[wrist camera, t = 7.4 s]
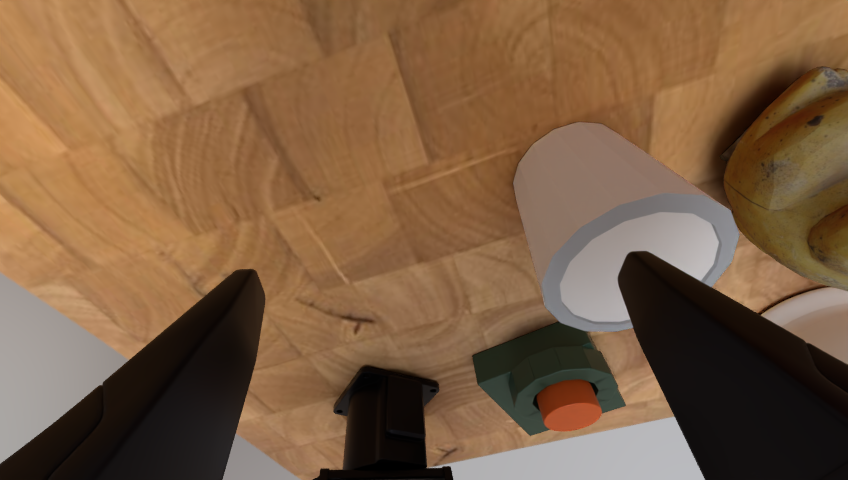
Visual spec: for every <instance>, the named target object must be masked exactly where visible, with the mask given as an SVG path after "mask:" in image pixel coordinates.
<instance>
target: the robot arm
mask: <svg viewBox="0 0 848 480" xmlns="http://www.w3.org/2000/svg"><path fill="white" fill-rule="evenodd" d="M618 286H619V289H620V291H621V294H622V297H623V300H624V303H625V306H626V309H627V311H628V314H629V317H630V320H631V323H632V326H633V328H634V331H635V334H636V336H637V339H638V341H639V343H640V345H641V348H642V350H643V352H644V354H645V356H646V358H647V360H648V362H649V364H650V366H651V368H652V370H653V373H654V375H655V377H656V379H657V381H658V383H659V385H660V387H661V389H662V391H663V393H664V395H665V397H666V400H667V402H668V404H669V406H670V408H671V410H672V412H673V414H674V416H675V418H676V420H677V422H678V424H679V426H680V429H681V431H682V433H683V435H684V437H685V439H686V441H687V443H688V445H689V447H690V449H691V451H692V453H693V456H694V458H695V460H696V462H697V464H698V466H699V468H700V470H701V472H702V474H703V476H704V478H705V480H848V364H846V363H844V362H842V361H840V360H839V359H837V358H835V357H833V356H831V355H830V354H828V353H826V352H824V351H823V350H821V349H819V348H817V347H816V346H814V345H812V344H810V343H806V342H805V340H803V339H801V338H800V337H798V336H796V335H794V334H793V333H791V332H789V331H787V330H786V329H784V328H782V327H780V326H779V325H777V324H775V323H773V322H772V321H770V320H768V319H766V318H764V317H763V316H761V315H759V314H757V313H756V312H754V311H752V310H750V309H749V308H747V307H745V306H743V305H742V304H740V303H738V302H736V301H735V300H733V299H731V298H729V297H728V296H726V295H724V294H722V293H720V292H719V291H717V290H715V289H713V288H712V287H710V286H708V285H706V284H705V283H703V282H701V281H699V280H698V279H696V278H694V277H692V276H691V275H689V274H687V273H685V272H684V271H682V270H680V269H678V268H677V267H675V266H673V265H671V264H669V263H668V262H666V261H664V260H662V259H661V258H659V257H657V256H655V255H654V254H652V253H650V252H648V251H631V252H629V253H628V254H627V255H626V258H625V260H624V262H623V265H622V267H621V269H620V272H619V274H618ZM264 307H265V293H264V290H263V287H262V285H261V282H260V279H259V277H258V274H257V272H256V271H255V270H254V269H240V270H236V271H234V272H233V273H232V274H231V275H229V276H228V277H227V278H226V279H225V280H223V281H222V282H221V283H220V284H219V285H218V286H216V287H215V288H214V289H213V290H212V291H210V292H209V293H208V294H207V295H206V296H205V297H203V298H202V299H201V300H200V301H199V302H197V303H196V304H195V305H194V306H193V307H191V308H190V309H189V310H188V311H187V312H186V313H184V314H183V315H182V316H181V317H180V318H178V319H177V320H176V321H175V322H174V323H173V324H171V325H170V326H169V327H168V328H167V329H165V330H164V331H163V332H162V333H161V334H160V335H158V336H157V337H156V338H155V339H154V340H152V341H151V342H150V343H149V344H148V345H147V346H145V347H144V348H143V349H142V350H141V351H139V352H138V353H137V354H136V355H135V356H134V357H132V358H131V359H130V360H129V361H128V362H126V363H125V364H124V365H123V366H122V367H121V368H119V369H118V370H117V371H116V372H115V373H113V374H112V375H111V376H110V377H109V378H108V379H106V380H105V381H104V382H103V386H102V385H100V386H98V387H97V388H95V389H94V390H93V391H92V392H91V393H90V394H88V395H87V396H86V397H85V398H84V399H82V400H81V401H80V402H79V403H78V404H76V405H75V406H74V407H73V408H72V409H70V410H69V411H68V412H67V413H66V414H64V415H63V416H62V417H60V418H59V419H58V420H57V421H56V422H54V423H53V424H52V425H51V426H49V427H48V428H47V429H45V430H44V431H43V432H42V433H40V434H39V435H38V436H36V437H35V438H34V439H32V440H31V441H30V442H28V443H27V444H26V445H25V446H23V447H22V448H21V449H19V450H18V451H17V452H15V453H14V454H13V455H12V456H10V457H9V458H7V459H6V460H5V461H3V462H2V463H1V464H0V480H222V479H223V476H224V472H225V469H226V465H227V462H228V458H229V454H230V451H231V447H232V444H233V440H234V437H235V433H236V430H237V426H238V423H239V419H240V416H241V412H242V409H243V405H244V402H245V398H246V395H247V391H248V387H249V384H250V380H251V377H252V373H253V370H254V366H255V362H256V357H257V351H258V345H259V339H260V332H261V326H262V320H263V313H264ZM438 392H439V384H438V383H435V382H431V381H426V380H422V379H418V378H413V377H409V376H405V375H400V374H396V373H392V372H387V371H383V370H379V369H374V368H370V367H364V368H362V369H360V371H359V372H358V373H357V375H356V376H355V378H354V379H353V380H352V382H351V383H350V385H349V386H348V387H347V389H346V390H345V391H344V393H343V394H342V396H341V397H340V398H339V400H338V401H337V402H336V404H335V405H334V410H333V412H334V413H335V414H339V415H344V416H347V426H346V438H345V449H344V461H343V470H329V469H321V470H320V476H318V477H317V478H315V479H313V480H453V476H452V471H451V467H449V466H447V467H445V466H444V467H442V468H426V467H427V458H426V443H425V436H426V432H425V417H424V406H425V405H426V404H427V403H428V402H429V401H430V400H431V399H432V398H433V397H434V396H435V395H436V394H437V393H438Z"/></svg>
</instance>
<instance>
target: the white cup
mask: <svg viewBox="0 0 848 480" xmlns="http://www.w3.org/2000/svg"><path fill="white" fill-rule="evenodd" d="M513 185H514V191H515V196H516V201H517V205H518V209H519V213H520V216H521V220H522V224H523V227H524V231H525V235H526V238H527V242H528V246H529V249H530V253H531V257H532V261H533V264H534V268H535V272H536V275H537V279H538V283H539V286H540V290H541V294H542V298H543V301H544V305H545V307H546V308H547V309H548V310H549V311H550V312H551V314H552V315H553V316H554V317H555V318H556V319H557V320H558V321H559V322H560V323H562V324H565V325H568V326H571V327H574V328H577V329H580V330H583V331H604V332H617V331H621V330H625V329H630V328H633V326H632V323H631V320H630V317H629V314H628V311H627V309H626V306H625V303H624V300H623V297H622V294H621V291H620V289H619V286H618V274H619V272H620V269H621V267H622V265H623V262H624V260H625V258H626V255H627V254H628V253H629V252H631V251H648V252H650V253H652V254H654V255H655V256H657V257H659V258H661V259H662V260H664V261H666V262H668V263H669V264H671V265H673V266H675V267H677V268H678V269H680V270H682V271H684V272H685V273H687V274H689V275H691V276H692V277H694V278H696V279H698V280H699V281H701V282H703V283H705V284H706V285H708V286H710V287H712V286H713V285H714V284H715V282H716V281H717V280H718V279H719V277H720V276H721V275H722V273H723V272H724V271H725V270H726V268H727V267H728V266H729V265H730V263H731V262H732V259H733V256H734V252H735V249H736V245H737V242H738V238H739V235H740V234H739V232H738V229H737V226H736V224H735V221H734V218H733V216H732V213H731V210H729V209H728V208H726V207H725V206H724V205H722V204H721V203H719V202H718V201H716V200H715V199H713V198H712V197H710V196H709V195H707V194H706V193H704V192H703V191H702V190H700V189H699V188H697V187H696V186H694V185H693V184H691V183H690V182H688V181H687V180H685V179H684V178H683V177H681V176H680V175H678V174H677V173H675V172H674V171H672V170H671V169H669V168H668V167H666V166H665V165H664V164H662V163H661V162H659V161H658V160H656V159H655V158H653V157H652V156H650V155H649V154H647V153H646V152H644V151H643V150H642V149H640V148H639V147H637V146H636V145H634V144H633V143H631V142H630V141H628V140H627V139H625V138H624V137H623V136H621V135H620V134H618V133H616V132H615V131H613V130H611V129H610V128H608V127H606V126H605V125H603V124H601V123H587V122H576V123H573V124H570V125H566V126H563V127H560V128H556V129H553V130H552V131H551V132H549V133H548V134H546V135H545V136H544V137H542V138H541V139H539V140H538V141H536V142H535V143H534V144H532V146H531V147H530V148H529V150H528V151H527V152H526V154H525V155H524V156H523V158H522V159H521V160H520V162H519V163H518V167H517V170H516V174H515V178H514V181H513Z"/></svg>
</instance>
